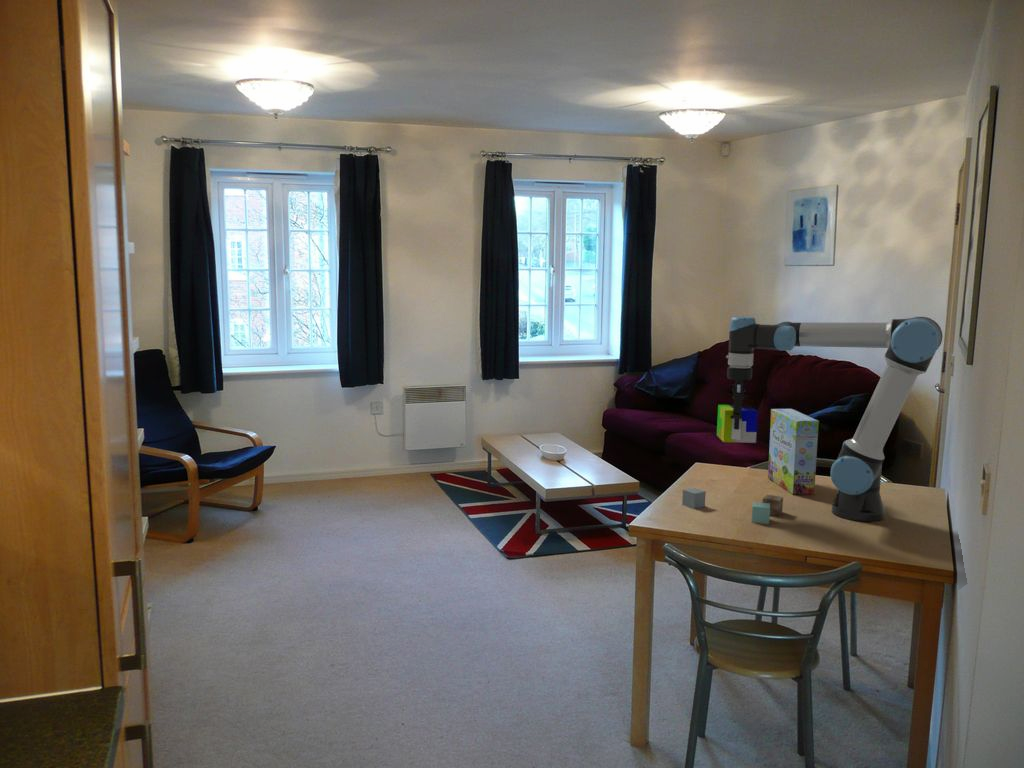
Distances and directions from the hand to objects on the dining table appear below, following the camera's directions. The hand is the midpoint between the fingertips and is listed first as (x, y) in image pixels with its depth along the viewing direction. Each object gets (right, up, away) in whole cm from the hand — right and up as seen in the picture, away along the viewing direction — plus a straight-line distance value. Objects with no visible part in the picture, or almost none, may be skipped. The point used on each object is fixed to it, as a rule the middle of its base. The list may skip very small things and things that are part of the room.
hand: (736, 435), depth 268 cm
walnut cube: (+10, -24, -3) cm, 26 cm away
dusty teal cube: (+4, -25, -11) cm, 28 cm away
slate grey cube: (-13, -23, +3) cm, 26 cm away
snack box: (+26, -20, +28) cm, 43 cm away
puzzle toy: (0, -1, 0) cm, 1 cm away
